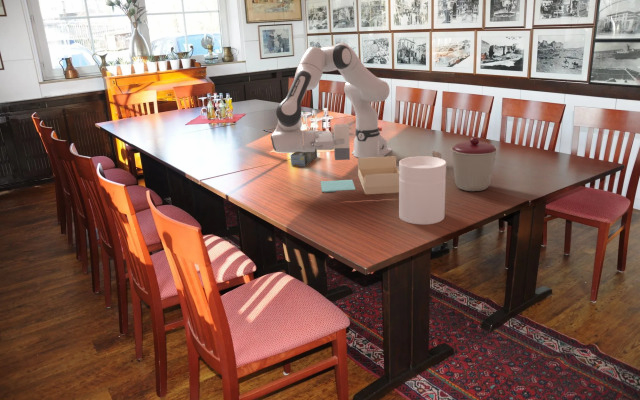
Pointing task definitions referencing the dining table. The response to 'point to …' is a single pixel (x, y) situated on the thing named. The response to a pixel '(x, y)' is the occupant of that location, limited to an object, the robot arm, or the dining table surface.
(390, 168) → the beige open box
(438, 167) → the canister
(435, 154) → the architectural model
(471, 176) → the canister
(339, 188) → the mat
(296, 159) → the beverage carton
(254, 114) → the dining table surface
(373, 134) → the robot arm
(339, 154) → the box
